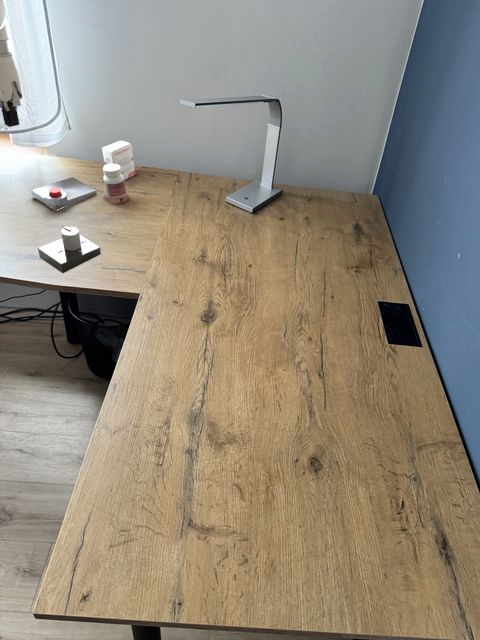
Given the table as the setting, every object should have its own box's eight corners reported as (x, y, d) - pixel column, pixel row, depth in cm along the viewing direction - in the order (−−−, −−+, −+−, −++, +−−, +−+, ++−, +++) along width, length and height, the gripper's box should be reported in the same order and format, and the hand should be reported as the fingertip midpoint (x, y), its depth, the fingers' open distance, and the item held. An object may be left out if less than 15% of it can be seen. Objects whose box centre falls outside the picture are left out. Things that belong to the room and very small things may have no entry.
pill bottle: (131, 201, 159) (126, 166, 151) (117, 208, 156) (111, 173, 148) (118, 195, 162) (112, 161, 154) (103, 202, 158) (96, 167, 150)
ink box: (126, 173, 173) (121, 139, 165) (136, 177, 171) (131, 142, 163) (107, 182, 168) (101, 147, 160) (117, 186, 166) (111, 151, 158)
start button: (54, 199, 149) (53, 193, 148) (47, 195, 150) (46, 189, 149) (63, 196, 151) (62, 190, 150) (57, 192, 152) (56, 186, 151)
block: (55, 213, 150) (52, 201, 147) (29, 197, 155) (26, 185, 152) (99, 197, 160) (97, 186, 157) (73, 183, 165) (71, 171, 162)
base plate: (63, 274, 129) (61, 263, 127) (39, 257, 133) (37, 247, 131) (101, 256, 136) (100, 246, 134) (78, 241, 140) (76, 231, 138)
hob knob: (84, 246, 134) (82, 230, 130) (70, 252, 131) (67, 236, 128) (74, 239, 135) (71, 223, 132) (60, 245, 133) (57, 229, 129)
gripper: (-38, 39, 120) (-18, 119, 133) (-3, 55, 114) (15, 137, 127) (-8, 36, 125) (9, 113, 137) (27, 51, 119) (42, 131, 131)
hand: (12, 124), depth 132 cm, fingers closed
